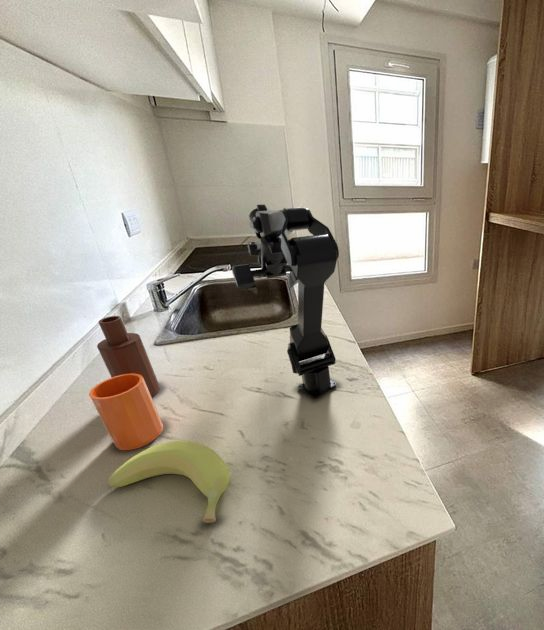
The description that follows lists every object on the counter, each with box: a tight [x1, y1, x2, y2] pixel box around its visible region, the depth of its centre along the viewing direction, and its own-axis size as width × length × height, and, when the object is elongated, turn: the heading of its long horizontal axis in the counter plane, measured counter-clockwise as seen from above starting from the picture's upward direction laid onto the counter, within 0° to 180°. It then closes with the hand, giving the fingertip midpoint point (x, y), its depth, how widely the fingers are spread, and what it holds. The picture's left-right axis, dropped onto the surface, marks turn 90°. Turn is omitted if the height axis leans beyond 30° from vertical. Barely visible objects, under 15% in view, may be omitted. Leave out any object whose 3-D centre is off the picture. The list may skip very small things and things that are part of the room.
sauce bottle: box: [96, 315, 161, 398], centre depth 71 cm, size 7×7×19 cm
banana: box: [106, 440, 231, 524], centre depth 53 cm, size 14×6×20 cm
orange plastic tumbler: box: [88, 373, 164, 451], centre depth 62 cm, size 7×7×12 cm
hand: (273, 290), depth 95 cm, fingers open, 9 cm apart
